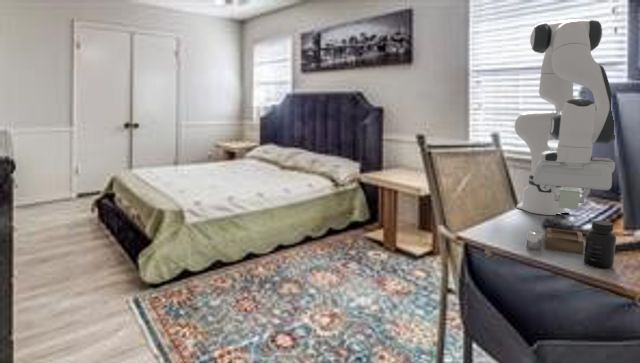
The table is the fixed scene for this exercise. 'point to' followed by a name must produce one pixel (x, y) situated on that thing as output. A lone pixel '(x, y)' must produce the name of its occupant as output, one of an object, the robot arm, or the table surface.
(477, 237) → the table surface
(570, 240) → the walnut base
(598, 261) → the supplement bottle
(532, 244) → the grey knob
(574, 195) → the sage cube
